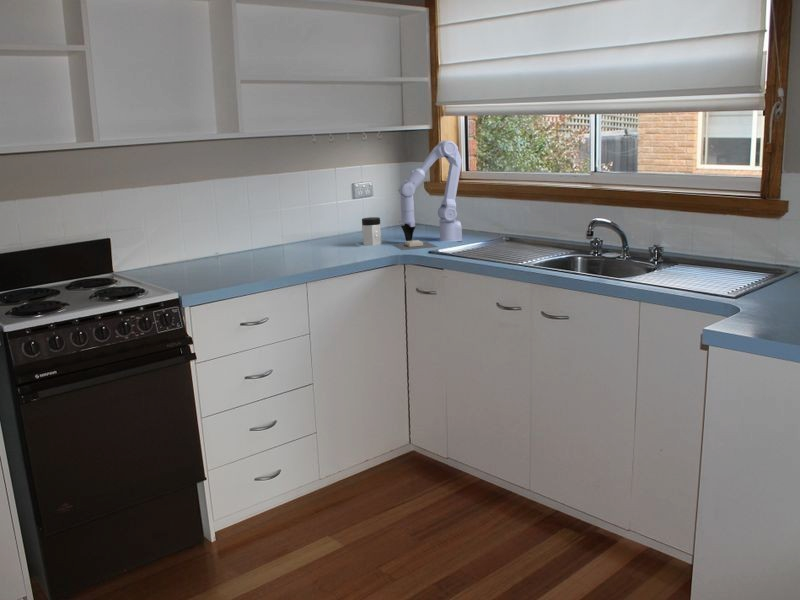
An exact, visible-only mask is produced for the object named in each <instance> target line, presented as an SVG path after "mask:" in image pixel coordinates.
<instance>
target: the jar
mask: <svg viewBox="0 0 800 600" xmlns="http://www.w3.org/2000/svg"><path fill="white" fill-rule="evenodd" d="M361 226H362V227H361V228H362V229H361V231H362V245H363V246H379V245H382V232H381V230H382V229H381V217H378V216H377V217H375V216H374V217H371V216H369V217H363V218H361Z"/></svg>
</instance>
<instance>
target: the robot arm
mask: <svg viewBox="0 0 800 600" xmlns="http://www.w3.org/2000/svg"><path fill="white" fill-rule="evenodd" d="M441 158H445V159H446V161H447V162H448V163H449V164H448V165H449V166H448V170H447V171H448V172H447V177H446V181H445V182H446V183H445V188H444V194H443V199H442V201H441V204H440V206H439V208H438V210H437V216H438V217H439V220H438V222H439V239H437V241H439V242H441V243H448V242H463V241H464V240H463V230H462V229H463V227H462V223H461V221H460V220H457V219H456V218H457V217H458V212H457V203H456V197H457V192H458V186H459V180H460V174H461V169H462V163H463V160H462V157H461V154H460V152H459V146H458V145H457V144H456V143H455V142H454V141H452V140H440V141H439V142H438V143H437V145H435V146H434V147H433V149H432V150H431V152H429V154H428V156H427V157H426V159H425V160H424V161H423V162H422V164H421V165H420V167H418V168H415V169H413V170H411V171H410V175H409V176H408V177H407V178H405V179H404V181H403V183H401V184H400V185H399V189H398V192H399V194H400V212H401V220H399V221H398V223H399V224H402V225H401V226H400V228H401V229H402V231H403V234H404V238H405V241H413V236H414V231H415V229H416V220H415V219H416V218H415V204H414V203H415V202H414V194H415V192H416V189H417V188H418V187H419V186H420V184H421V183H422V182H423V181H424V179H425V178H426V173H427V171H428V170H429V169H430V168H431V167H432V166H433V164H434V163H435V162H436V161H437V160H439V159H441Z"/></svg>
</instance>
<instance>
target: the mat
mask: <svg viewBox="0 0 800 600" xmlns="http://www.w3.org/2000/svg"><path fill="white" fill-rule="evenodd" d="M422 242H423V246H417V247H409V246H407V245H405V243H399V244H392V246H393V247H396V248H397V249H399V250H400V251H407V250H419V249H430V248H439V246H438V245H435V244H433V243H430V242H429V241H422Z"/></svg>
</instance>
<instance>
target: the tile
mask: <svg viewBox="0 0 800 600" xmlns="http://www.w3.org/2000/svg"><path fill="white" fill-rule="evenodd" d="M423 242H424V241H421V240H419V239H417V240H416V239H414V240H412V241H406V240H405V241H404V244H405V245H407V246H409V247H417V246H423Z"/></svg>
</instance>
